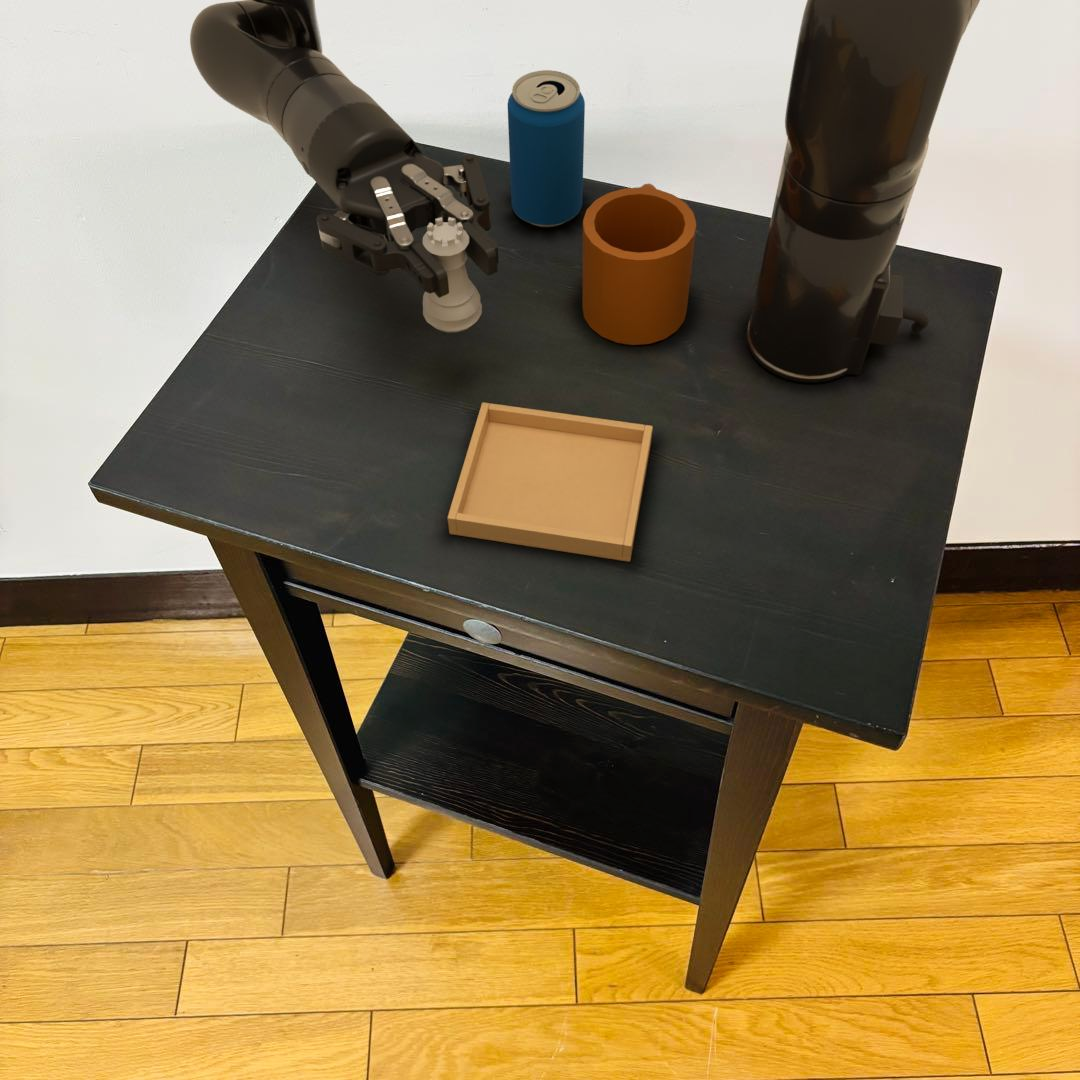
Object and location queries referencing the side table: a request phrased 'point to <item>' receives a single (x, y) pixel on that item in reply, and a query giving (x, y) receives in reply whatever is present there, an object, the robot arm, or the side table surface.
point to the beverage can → (546, 147)
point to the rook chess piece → (451, 279)
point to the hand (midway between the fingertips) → (468, 274)
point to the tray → (552, 481)
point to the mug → (637, 264)
